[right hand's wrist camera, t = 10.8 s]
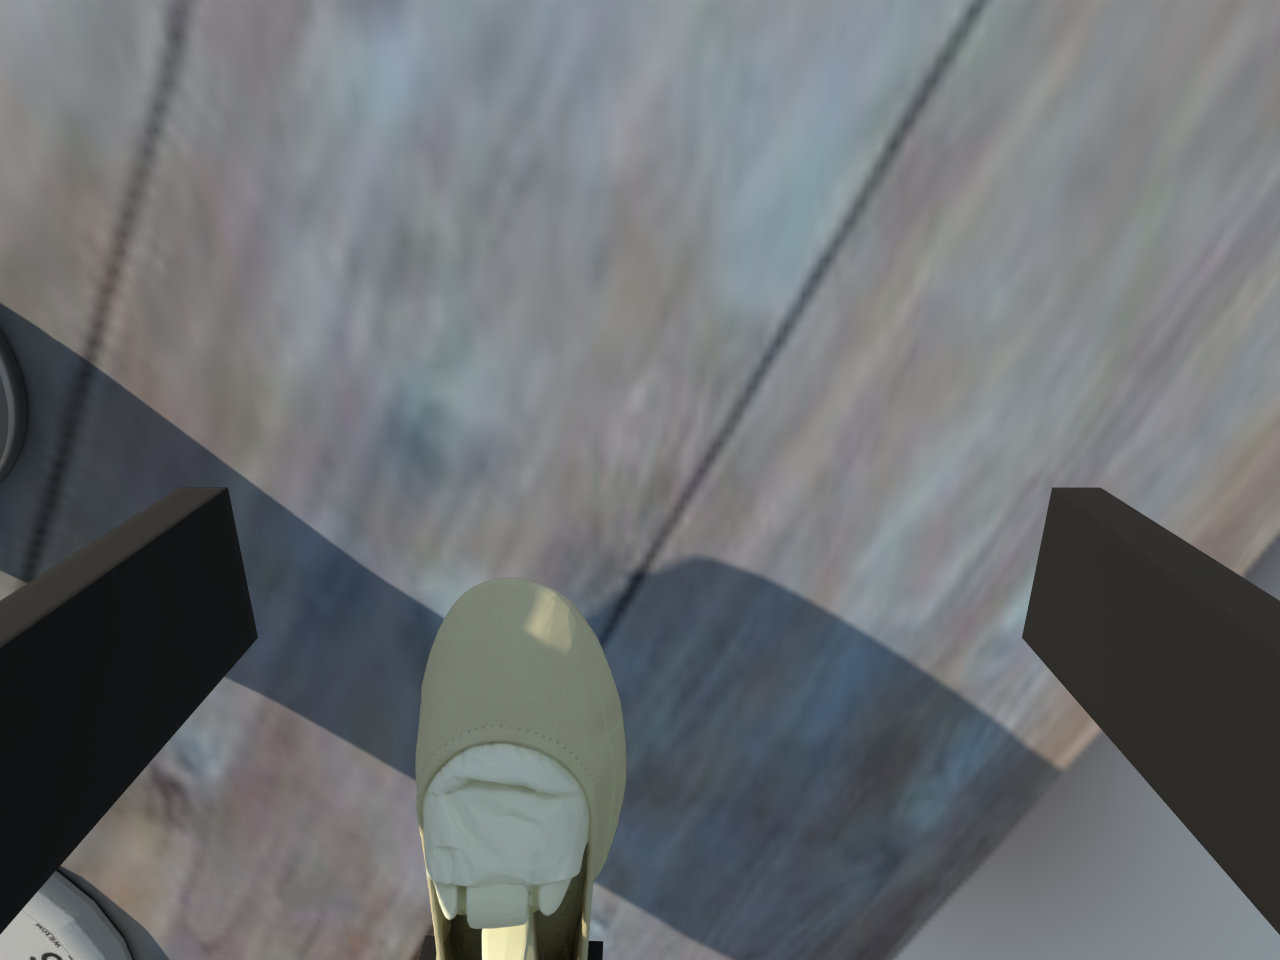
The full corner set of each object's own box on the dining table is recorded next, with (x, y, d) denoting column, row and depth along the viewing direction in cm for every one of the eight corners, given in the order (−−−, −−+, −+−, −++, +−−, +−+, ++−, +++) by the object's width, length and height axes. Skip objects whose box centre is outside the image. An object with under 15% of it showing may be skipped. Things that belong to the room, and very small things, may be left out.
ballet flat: (631, 566, 30) (628, 693, 22) (620, 1003, 38) (614, 1199, 31) (415, 560, 30) (339, 686, 22) (453, 999, 38) (407, 1195, 31)
